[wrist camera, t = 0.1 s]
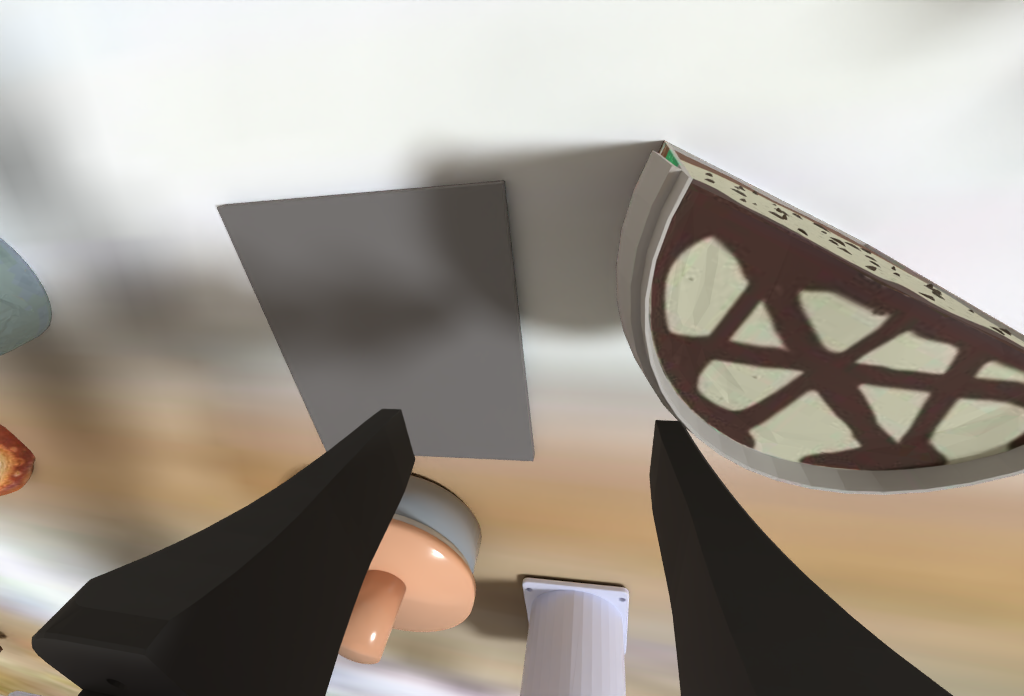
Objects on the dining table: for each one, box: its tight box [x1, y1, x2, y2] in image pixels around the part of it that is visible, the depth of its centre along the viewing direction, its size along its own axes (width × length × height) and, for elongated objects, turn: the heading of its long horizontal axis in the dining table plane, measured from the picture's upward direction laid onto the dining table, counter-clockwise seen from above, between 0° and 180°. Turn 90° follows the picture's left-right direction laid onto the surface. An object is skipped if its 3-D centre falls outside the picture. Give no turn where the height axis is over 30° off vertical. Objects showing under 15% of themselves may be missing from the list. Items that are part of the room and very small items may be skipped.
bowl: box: [393, 475, 482, 574], centre depth 30 cm, size 11×11×4 cm
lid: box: [338, 518, 476, 664], centre depth 27 cm, size 12×12×5 cm
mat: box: [217, 181, 535, 461], centre depth 23 cm, size 16×14×1 cm
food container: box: [616, 140, 1024, 495], centre depth 14 cm, size 12×6×10 cm, turn 67°
